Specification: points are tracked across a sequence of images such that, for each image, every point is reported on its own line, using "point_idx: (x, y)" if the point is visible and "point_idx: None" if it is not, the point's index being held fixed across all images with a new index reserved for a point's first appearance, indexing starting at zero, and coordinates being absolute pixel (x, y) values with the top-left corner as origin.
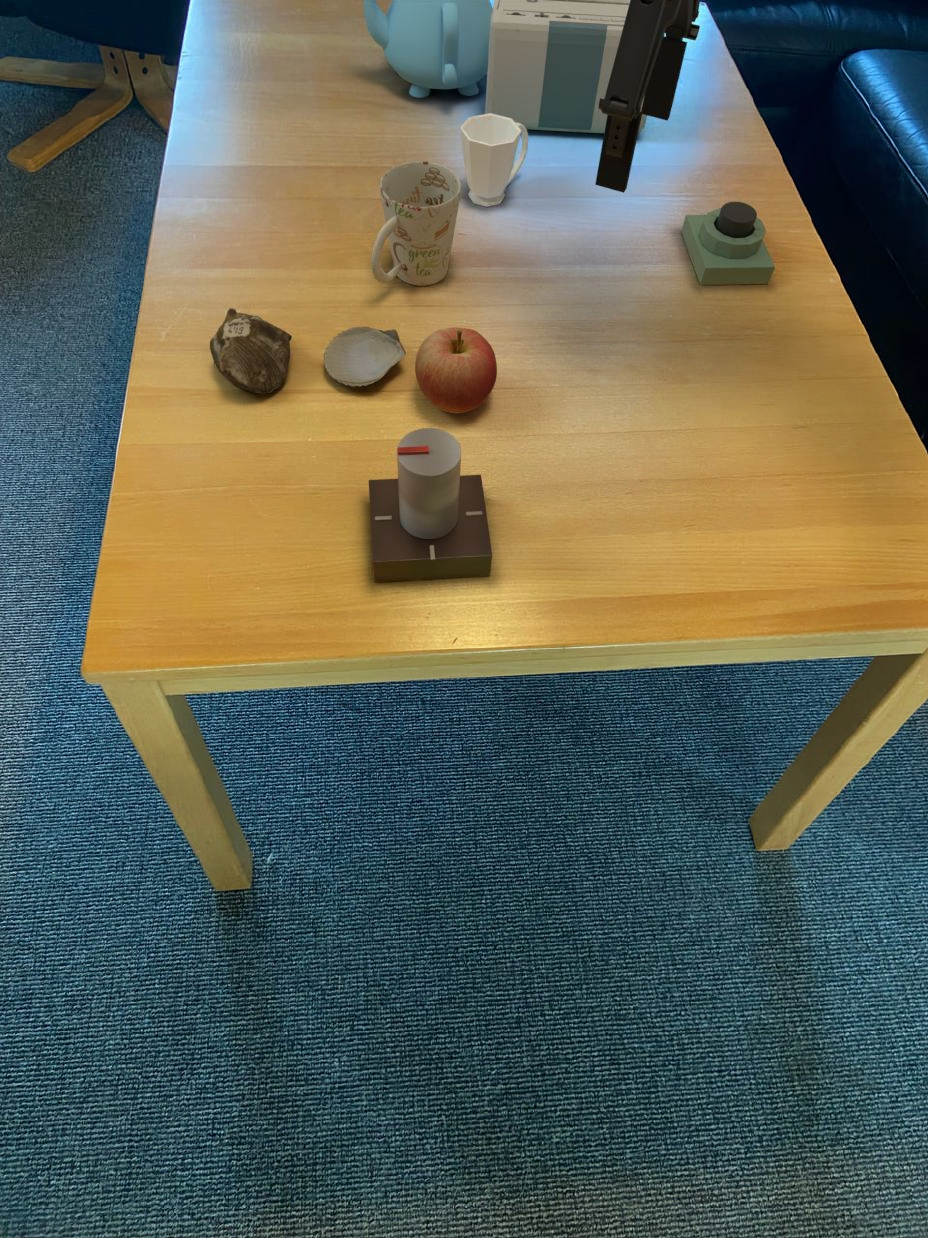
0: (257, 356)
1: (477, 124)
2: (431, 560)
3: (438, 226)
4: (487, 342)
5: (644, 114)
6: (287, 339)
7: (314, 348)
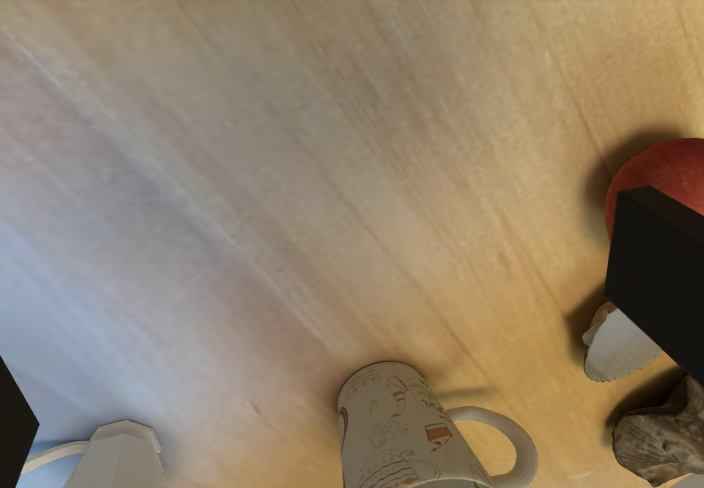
0: None
1: None
2: None
3: (454, 442)
4: (682, 201)
5: (31, 410)
6: (684, 413)
7: (604, 384)
